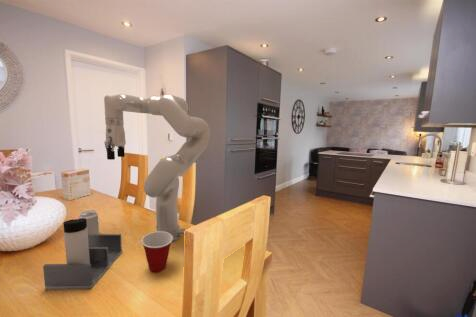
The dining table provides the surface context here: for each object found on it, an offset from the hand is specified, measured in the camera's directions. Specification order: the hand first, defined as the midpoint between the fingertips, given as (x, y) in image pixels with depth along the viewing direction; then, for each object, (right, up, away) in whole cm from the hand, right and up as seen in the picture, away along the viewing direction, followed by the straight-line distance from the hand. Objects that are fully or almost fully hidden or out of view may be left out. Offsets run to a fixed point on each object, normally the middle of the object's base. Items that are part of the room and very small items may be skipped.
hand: (116, 158), depth 108 cm
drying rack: (+4, -40, -27) cm, 49 cm away
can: (-11, -37, -3) cm, 39 cm away
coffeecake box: (-56, -28, +52) cm, 82 cm away
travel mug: (+5, -40, -32) cm, 52 cm away
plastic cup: (+29, -41, -25) cm, 57 cm away
